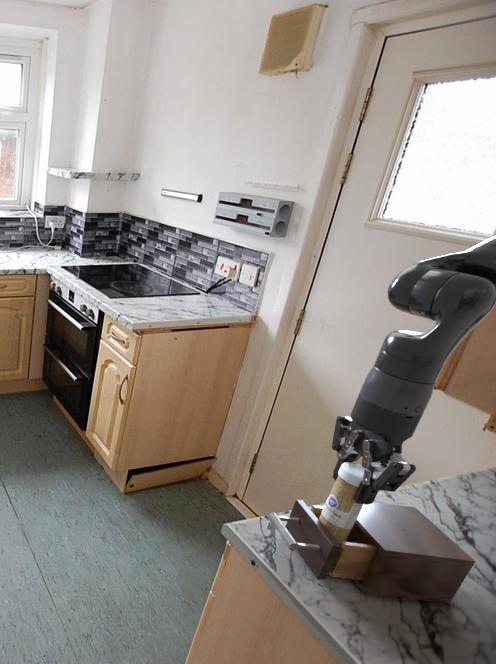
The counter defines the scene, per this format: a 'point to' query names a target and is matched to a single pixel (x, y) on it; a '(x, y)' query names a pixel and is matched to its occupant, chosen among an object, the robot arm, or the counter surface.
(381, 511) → the cabinet
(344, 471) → the sprinkles bottle
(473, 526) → the counter surface
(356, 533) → the drawer
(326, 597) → the counter surface
